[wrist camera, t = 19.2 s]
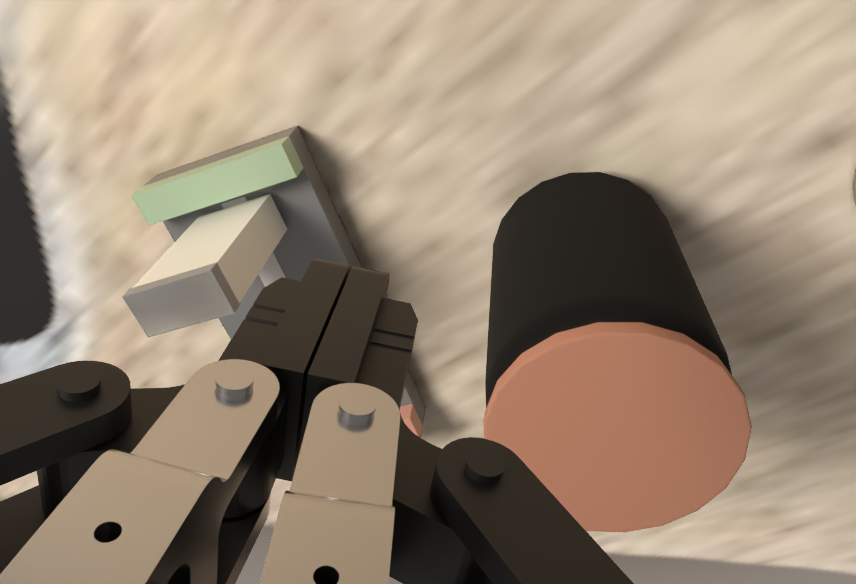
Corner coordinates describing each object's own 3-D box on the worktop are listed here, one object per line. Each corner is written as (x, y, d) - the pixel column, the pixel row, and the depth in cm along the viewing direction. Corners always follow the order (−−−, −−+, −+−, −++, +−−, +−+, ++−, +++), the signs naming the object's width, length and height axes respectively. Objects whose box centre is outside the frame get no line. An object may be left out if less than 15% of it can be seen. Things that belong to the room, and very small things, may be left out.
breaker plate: (156, 174, 45) (131, 195, 42) (297, 125, 43) (281, 144, 40) (303, 434, 55) (291, 467, 52) (425, 407, 52) (420, 439, 49)
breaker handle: (197, 216, 44) (122, 296, 35) (270, 192, 42) (210, 270, 34) (216, 251, 45) (148, 337, 37) (288, 229, 44) (234, 313, 35)
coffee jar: (539, 341, 48) (551, 560, 33) (462, 213, 44) (434, 393, 29) (694, 278, 45) (789, 489, 29) (626, 131, 41) (694, 287, 25)
